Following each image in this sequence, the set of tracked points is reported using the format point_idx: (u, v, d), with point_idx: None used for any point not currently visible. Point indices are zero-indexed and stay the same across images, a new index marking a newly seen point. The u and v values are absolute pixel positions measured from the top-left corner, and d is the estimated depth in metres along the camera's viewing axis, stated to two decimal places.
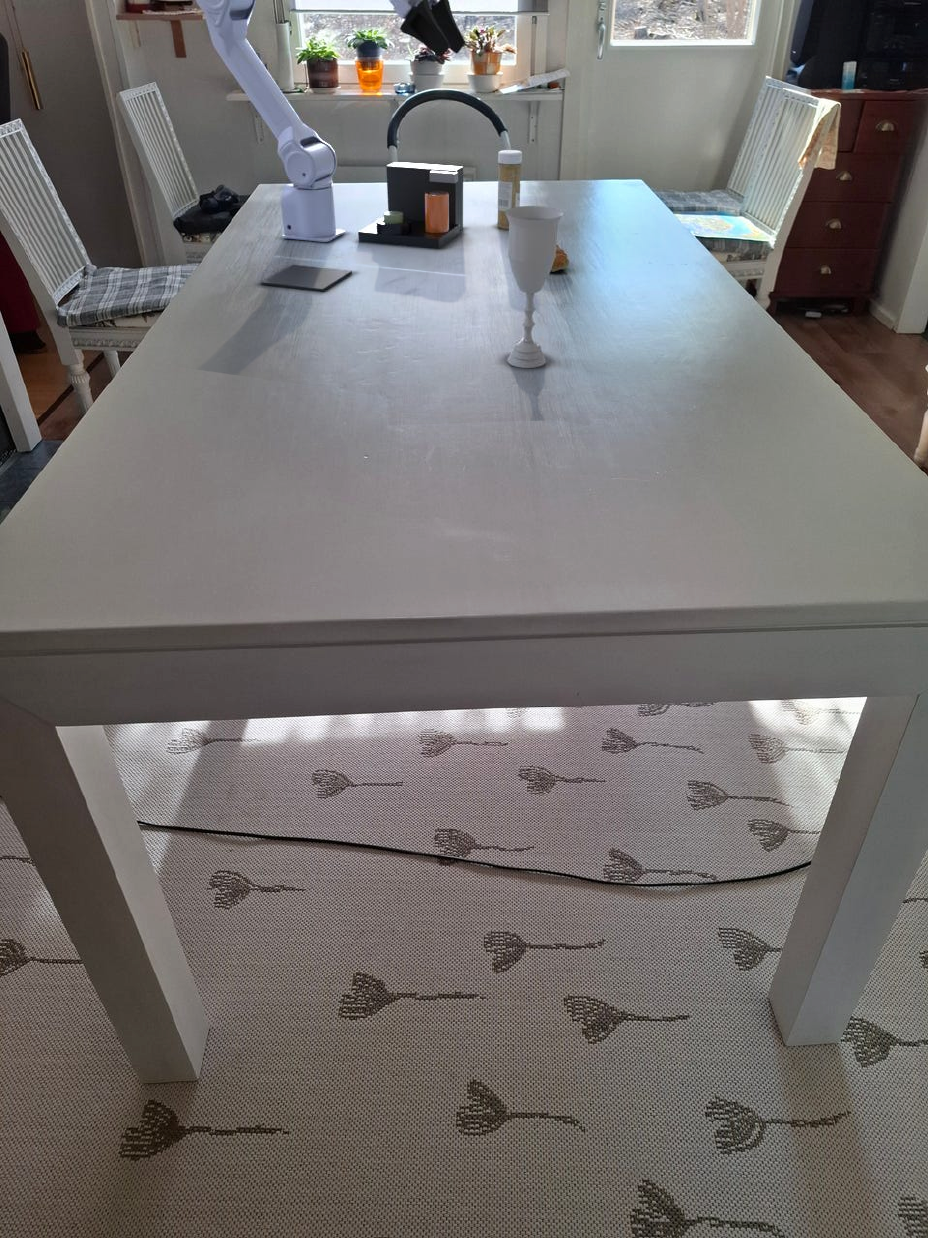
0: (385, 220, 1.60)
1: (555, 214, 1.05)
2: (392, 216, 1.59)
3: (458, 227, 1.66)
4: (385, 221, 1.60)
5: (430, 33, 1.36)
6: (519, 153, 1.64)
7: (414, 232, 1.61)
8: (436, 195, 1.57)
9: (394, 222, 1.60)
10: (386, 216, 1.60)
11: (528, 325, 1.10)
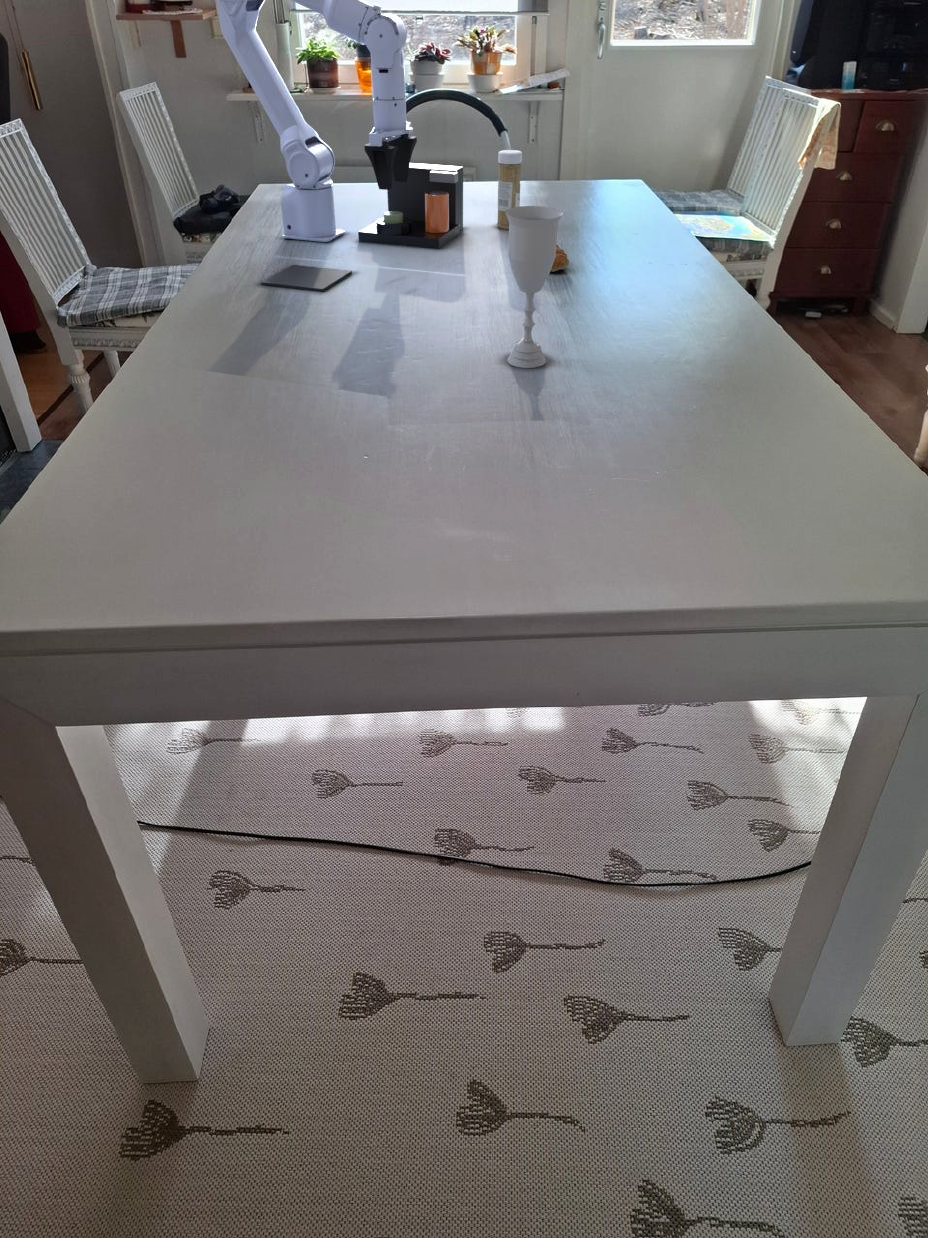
0: (385, 220, 1.60)
1: (555, 214, 1.05)
2: (392, 216, 1.59)
3: (458, 227, 1.66)
4: (385, 221, 1.60)
5: (383, 168, 1.52)
6: (519, 153, 1.64)
7: (414, 232, 1.61)
8: (436, 195, 1.57)
9: (394, 222, 1.60)
10: (386, 216, 1.60)
11: (528, 325, 1.10)
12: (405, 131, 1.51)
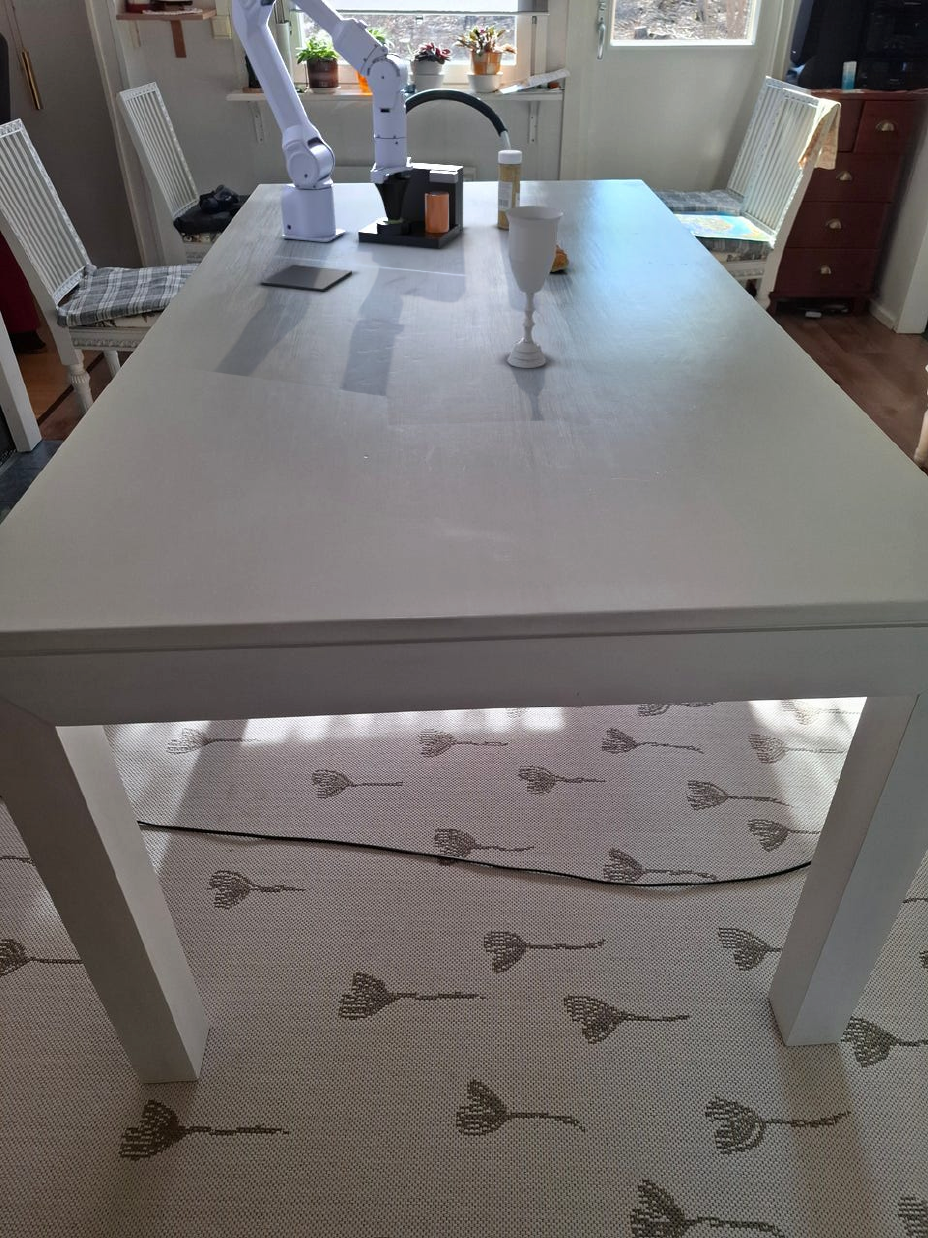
0: None
1: (555, 214, 1.05)
2: (392, 222, 1.60)
3: (458, 227, 1.66)
4: None
5: (391, 200, 1.59)
6: (519, 153, 1.64)
7: (414, 232, 1.61)
8: (436, 195, 1.57)
9: None
10: (386, 222, 1.60)
11: (528, 325, 1.10)
12: (406, 168, 1.54)
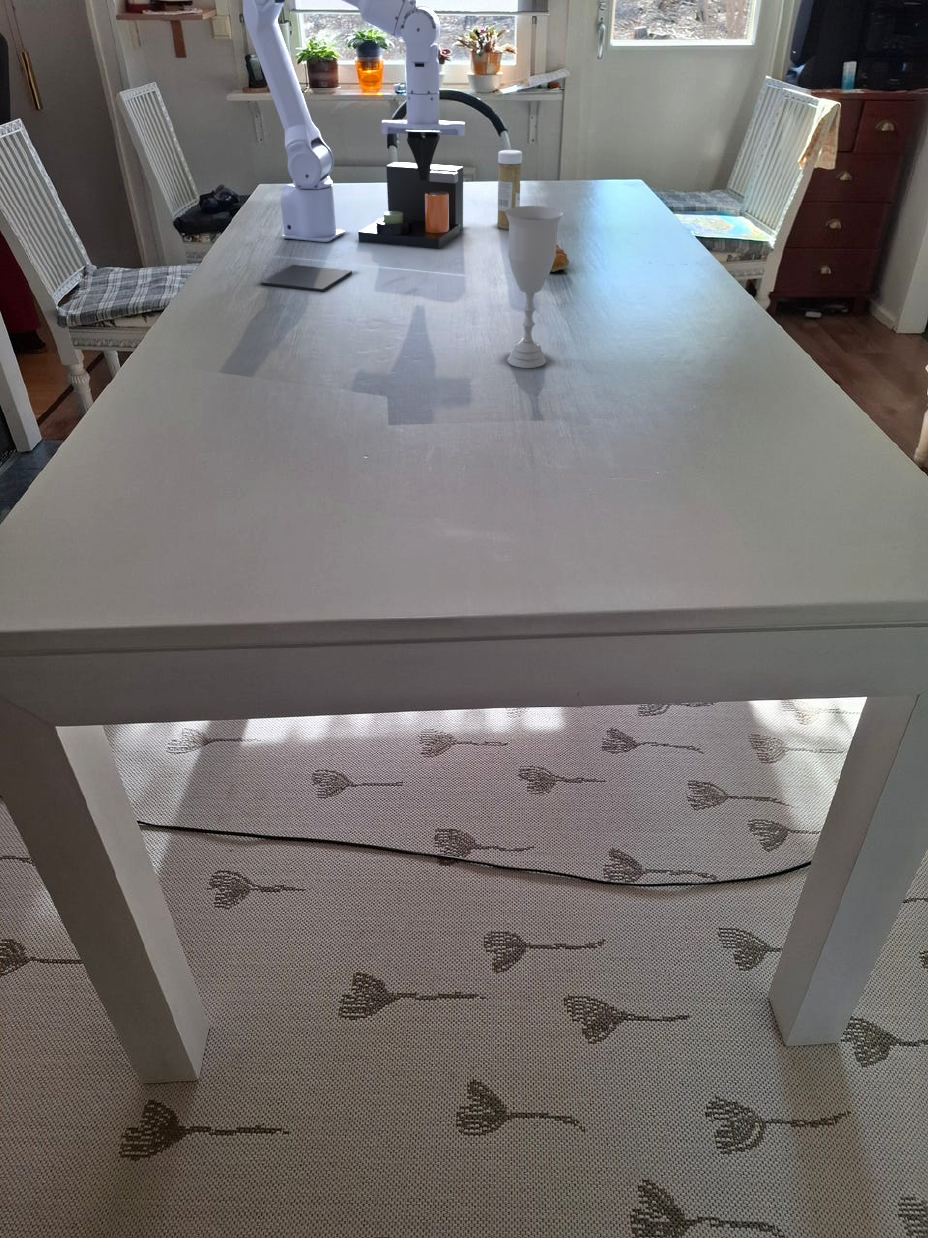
0: (385, 220, 1.60)
1: (555, 214, 1.05)
2: (392, 216, 1.59)
3: (458, 227, 1.66)
4: (385, 221, 1.60)
5: None
6: (519, 153, 1.64)
7: (414, 232, 1.61)
8: (436, 195, 1.57)
9: (394, 222, 1.60)
10: (386, 216, 1.60)
11: (528, 325, 1.10)
12: (413, 126, 1.50)
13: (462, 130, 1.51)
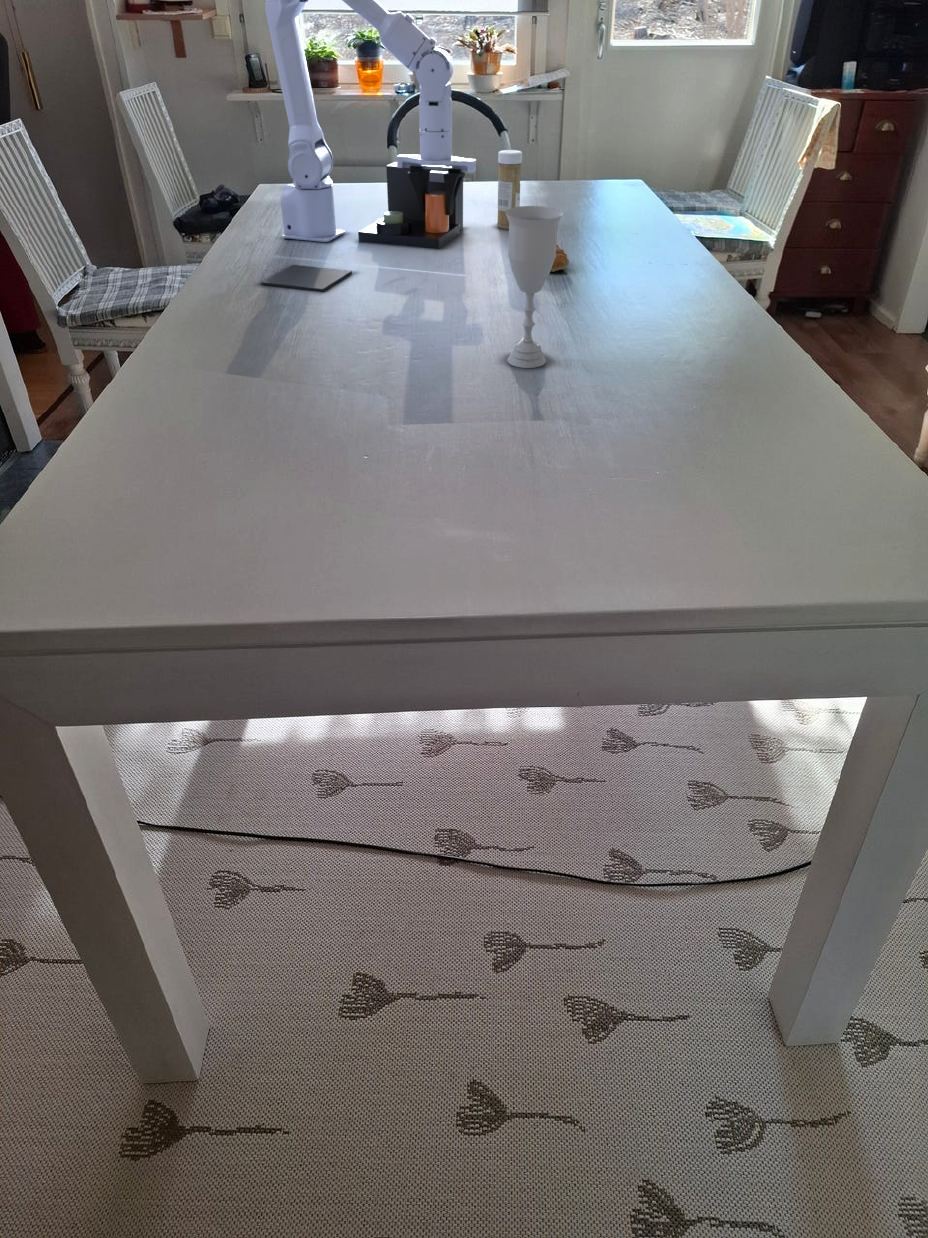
0: (385, 220, 1.60)
1: (555, 214, 1.05)
2: (392, 216, 1.59)
3: (458, 227, 1.66)
4: (385, 221, 1.60)
5: None
6: (519, 153, 1.64)
7: (414, 232, 1.61)
8: (436, 195, 1.57)
9: (394, 222, 1.60)
10: (386, 216, 1.60)
11: (528, 325, 1.10)
12: (424, 162, 1.53)
13: (472, 167, 1.54)
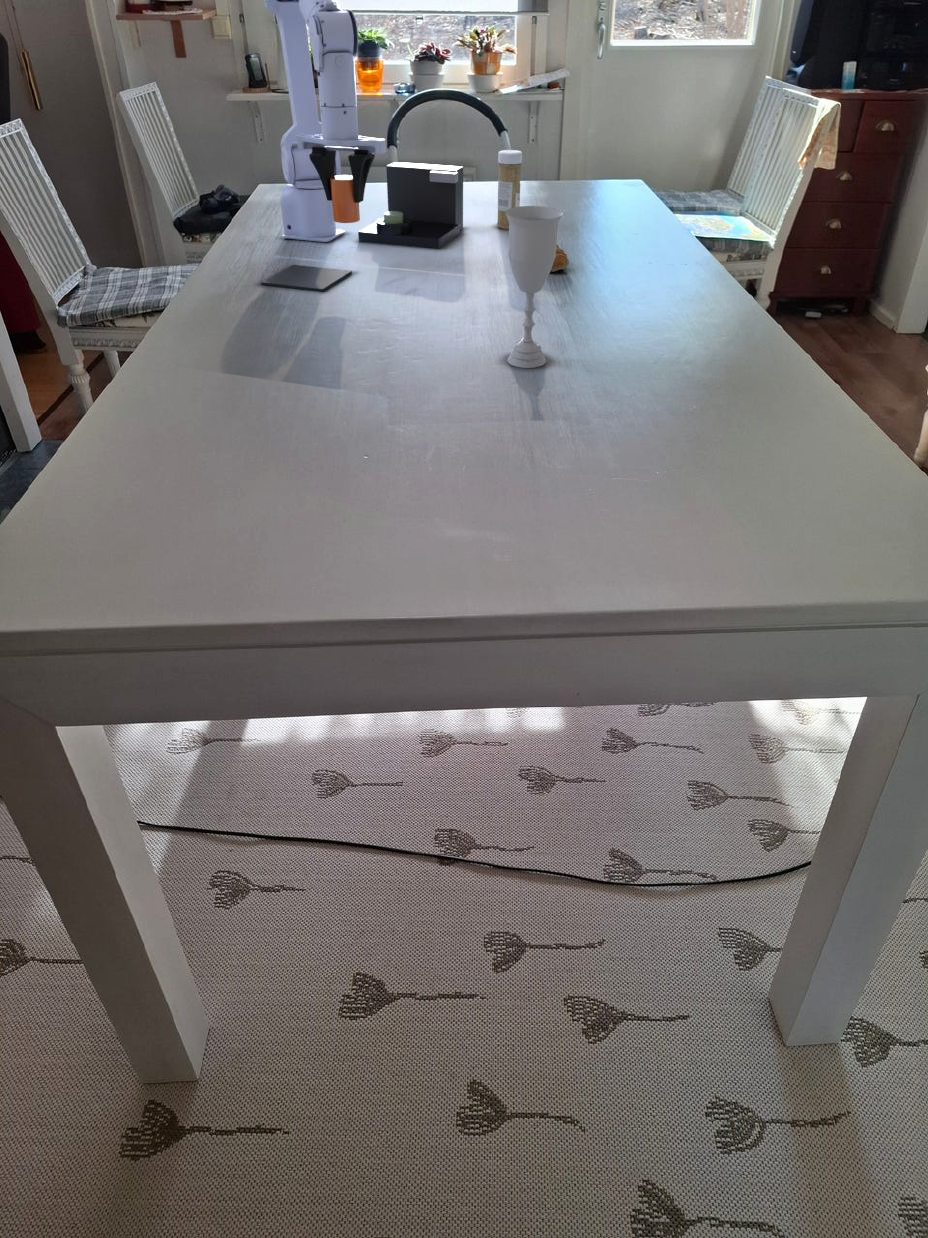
0: (385, 220, 1.60)
1: (555, 214, 1.05)
2: (392, 216, 1.59)
3: (458, 227, 1.66)
4: (385, 221, 1.60)
5: None
6: (519, 153, 1.64)
7: (414, 232, 1.61)
8: (342, 180, 1.39)
9: (394, 222, 1.60)
10: (386, 216, 1.60)
11: (528, 325, 1.10)
12: None
13: (380, 148, 1.36)
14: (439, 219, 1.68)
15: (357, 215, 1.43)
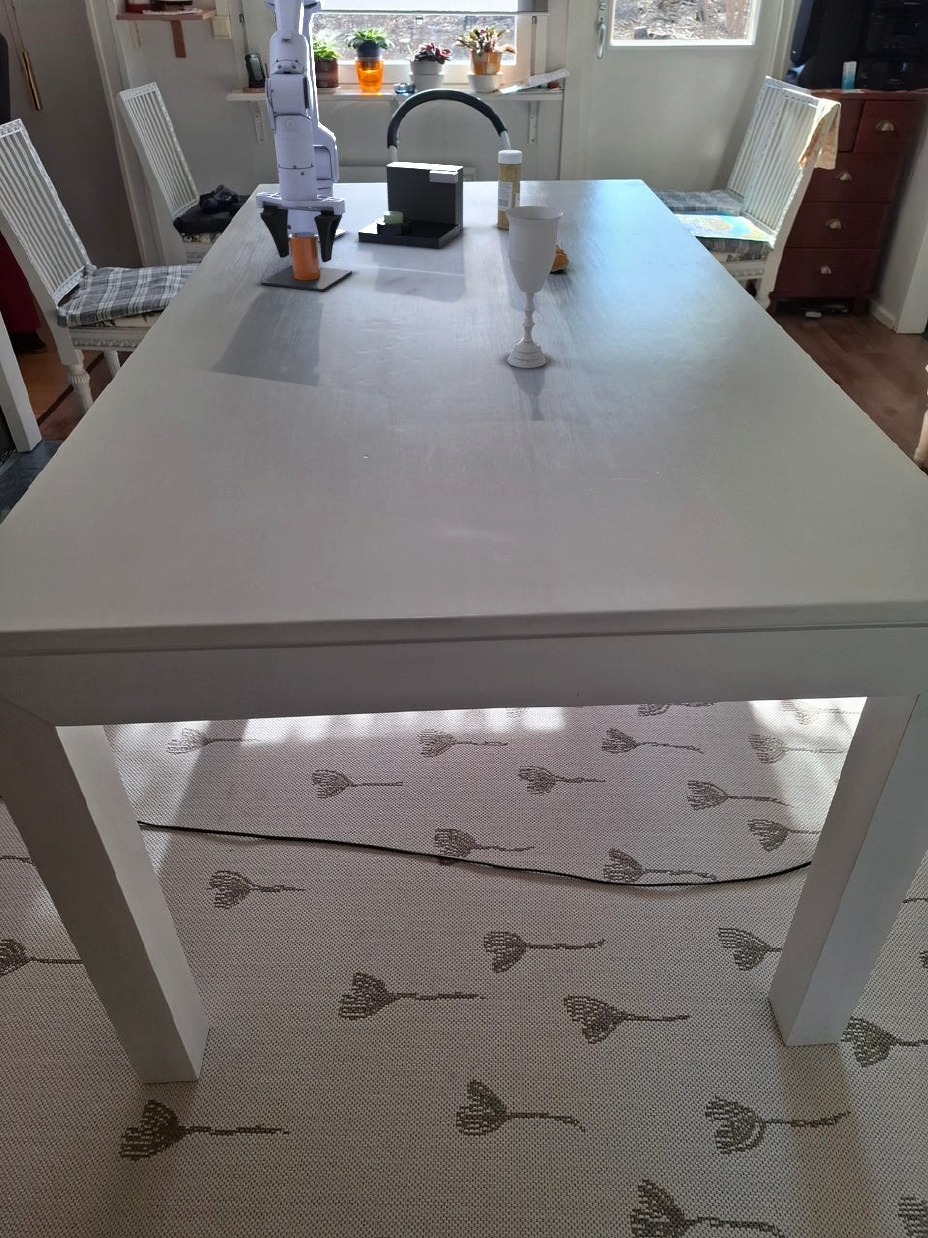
0: (385, 220, 1.60)
1: (555, 214, 1.05)
2: (392, 216, 1.59)
3: (458, 227, 1.66)
4: (385, 221, 1.60)
5: None
6: (519, 153, 1.64)
7: (414, 232, 1.61)
8: (301, 238, 1.38)
9: (394, 222, 1.60)
10: (386, 216, 1.60)
11: (528, 325, 1.10)
12: None
13: (338, 208, 1.34)
14: (439, 219, 1.68)
15: (317, 272, 1.42)
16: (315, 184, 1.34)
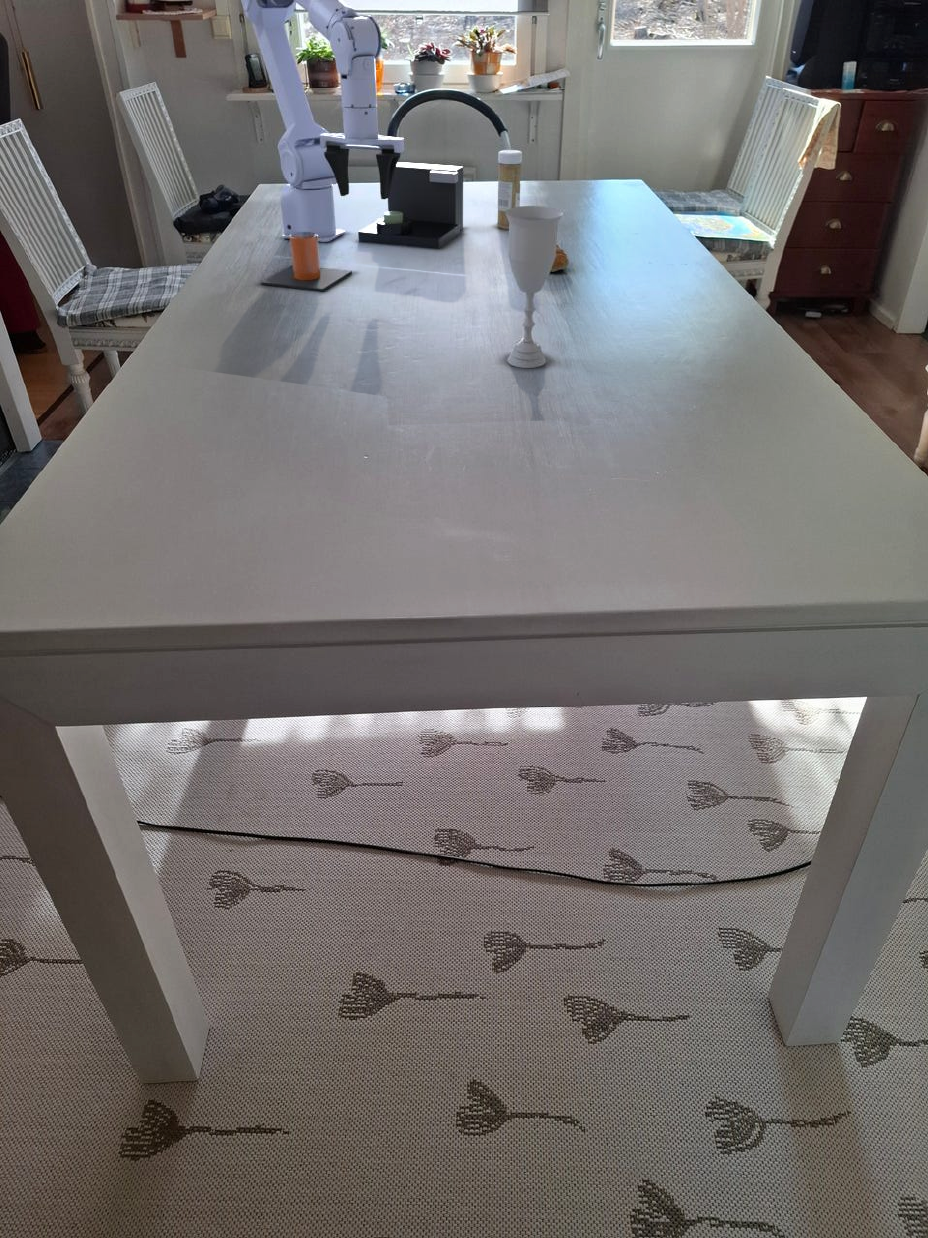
0: (385, 220, 1.60)
1: (555, 214, 1.05)
2: (392, 216, 1.59)
3: (458, 227, 1.66)
4: (385, 221, 1.60)
5: None
6: (519, 153, 1.64)
7: (414, 232, 1.61)
8: (301, 238, 1.38)
9: (394, 222, 1.60)
10: (386, 216, 1.60)
11: (528, 325, 1.10)
12: None
13: (399, 146, 1.43)
14: (439, 219, 1.68)
15: (317, 272, 1.42)
16: (377, 124, 1.43)
